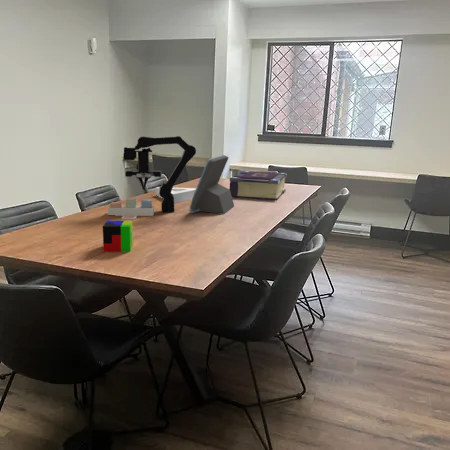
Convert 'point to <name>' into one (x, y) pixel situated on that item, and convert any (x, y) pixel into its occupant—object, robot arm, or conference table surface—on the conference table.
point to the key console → (131, 211)
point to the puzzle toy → (117, 236)
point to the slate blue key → (146, 204)
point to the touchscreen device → (212, 189)
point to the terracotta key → (115, 205)
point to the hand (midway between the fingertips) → (143, 189)
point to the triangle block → (180, 194)
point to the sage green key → (131, 203)
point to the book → (258, 185)
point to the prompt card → (129, 217)
